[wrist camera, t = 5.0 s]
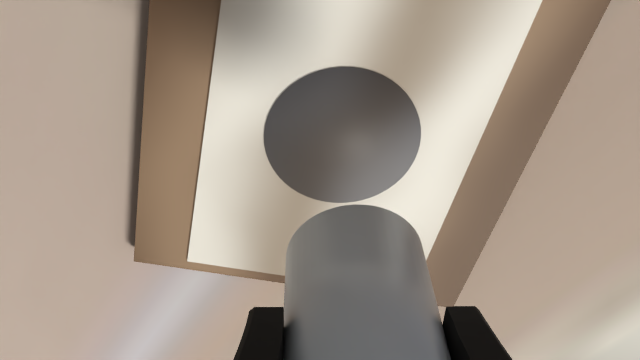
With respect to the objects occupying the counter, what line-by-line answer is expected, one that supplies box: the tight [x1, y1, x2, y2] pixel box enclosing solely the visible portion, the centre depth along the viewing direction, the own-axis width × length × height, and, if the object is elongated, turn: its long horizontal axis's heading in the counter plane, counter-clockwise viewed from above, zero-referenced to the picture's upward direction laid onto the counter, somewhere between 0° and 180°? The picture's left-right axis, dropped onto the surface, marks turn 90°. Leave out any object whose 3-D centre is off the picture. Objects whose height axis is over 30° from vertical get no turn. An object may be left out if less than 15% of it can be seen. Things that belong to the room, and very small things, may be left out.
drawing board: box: [134, 0, 611, 307], centre depth 19 cm, size 13×14×1 cm
